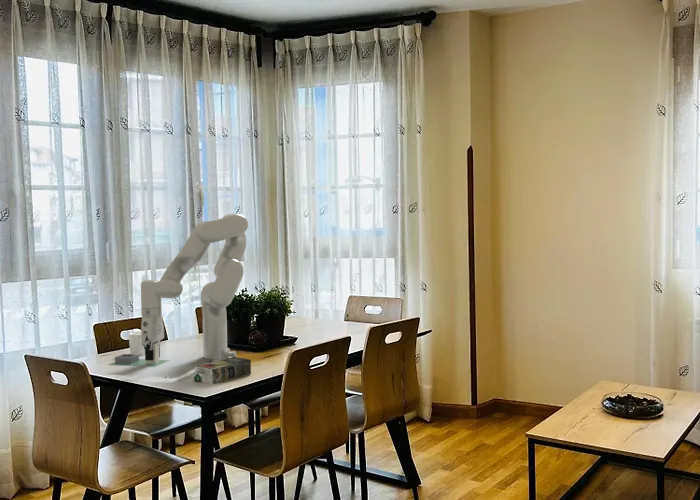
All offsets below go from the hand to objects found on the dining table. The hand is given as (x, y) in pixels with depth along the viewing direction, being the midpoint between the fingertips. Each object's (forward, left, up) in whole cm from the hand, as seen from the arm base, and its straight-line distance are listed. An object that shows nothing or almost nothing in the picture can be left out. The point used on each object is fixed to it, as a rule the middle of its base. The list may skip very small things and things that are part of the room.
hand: (152, 358), depth 272 cm
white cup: (+15, -16, -4) cm, 22 cm away
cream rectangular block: (0, 0, -2) cm, 2 cm away
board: (+6, 0, -3) cm, 7 cm away
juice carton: (-34, +11, -4) cm, 36 cm away
